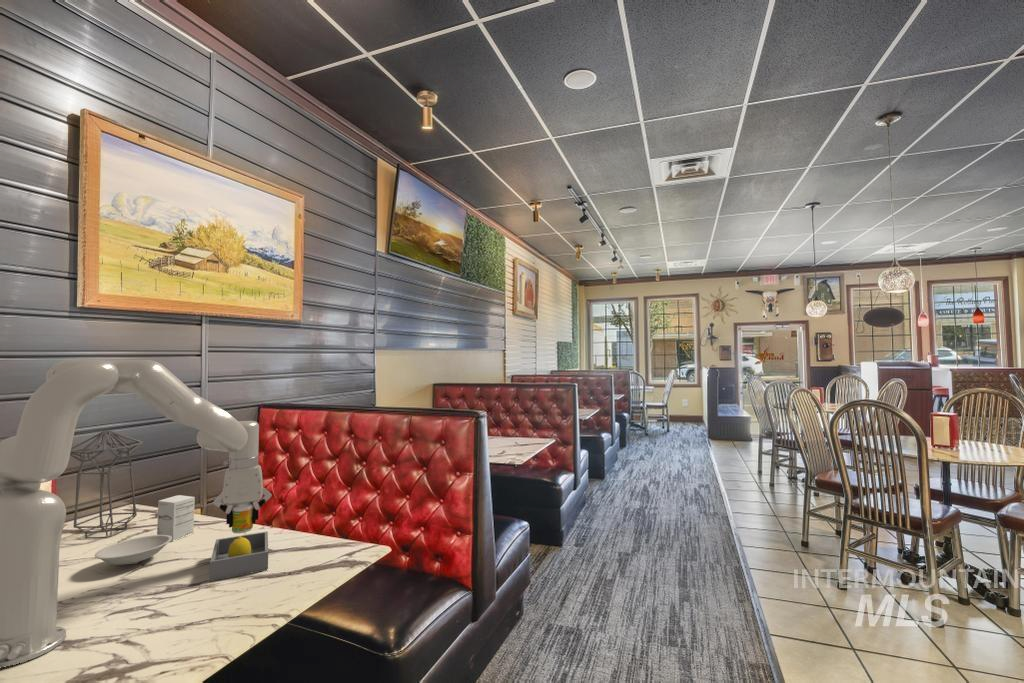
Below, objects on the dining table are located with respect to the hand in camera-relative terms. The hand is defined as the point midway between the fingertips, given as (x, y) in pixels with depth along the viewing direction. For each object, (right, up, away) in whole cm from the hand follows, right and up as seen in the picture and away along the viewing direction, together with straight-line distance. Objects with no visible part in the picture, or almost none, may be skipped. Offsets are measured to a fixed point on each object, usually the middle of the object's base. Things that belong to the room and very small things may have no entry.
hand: (242, 523), depth 135 cm
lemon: (+4, -9, -8) cm, 12 cm away
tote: (+2, -10, -4) cm, 11 cm away
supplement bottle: (0, -2, 0) cm, 2 cm away
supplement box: (-32, -11, +16) cm, 37 cm away
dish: (-29, -10, -4) cm, 31 cm away
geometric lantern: (-59, -11, +19) cm, 62 cm away
